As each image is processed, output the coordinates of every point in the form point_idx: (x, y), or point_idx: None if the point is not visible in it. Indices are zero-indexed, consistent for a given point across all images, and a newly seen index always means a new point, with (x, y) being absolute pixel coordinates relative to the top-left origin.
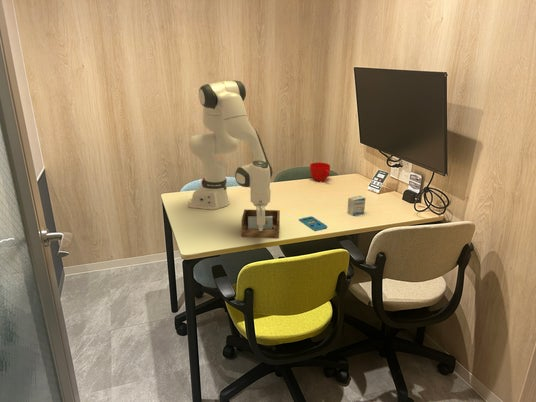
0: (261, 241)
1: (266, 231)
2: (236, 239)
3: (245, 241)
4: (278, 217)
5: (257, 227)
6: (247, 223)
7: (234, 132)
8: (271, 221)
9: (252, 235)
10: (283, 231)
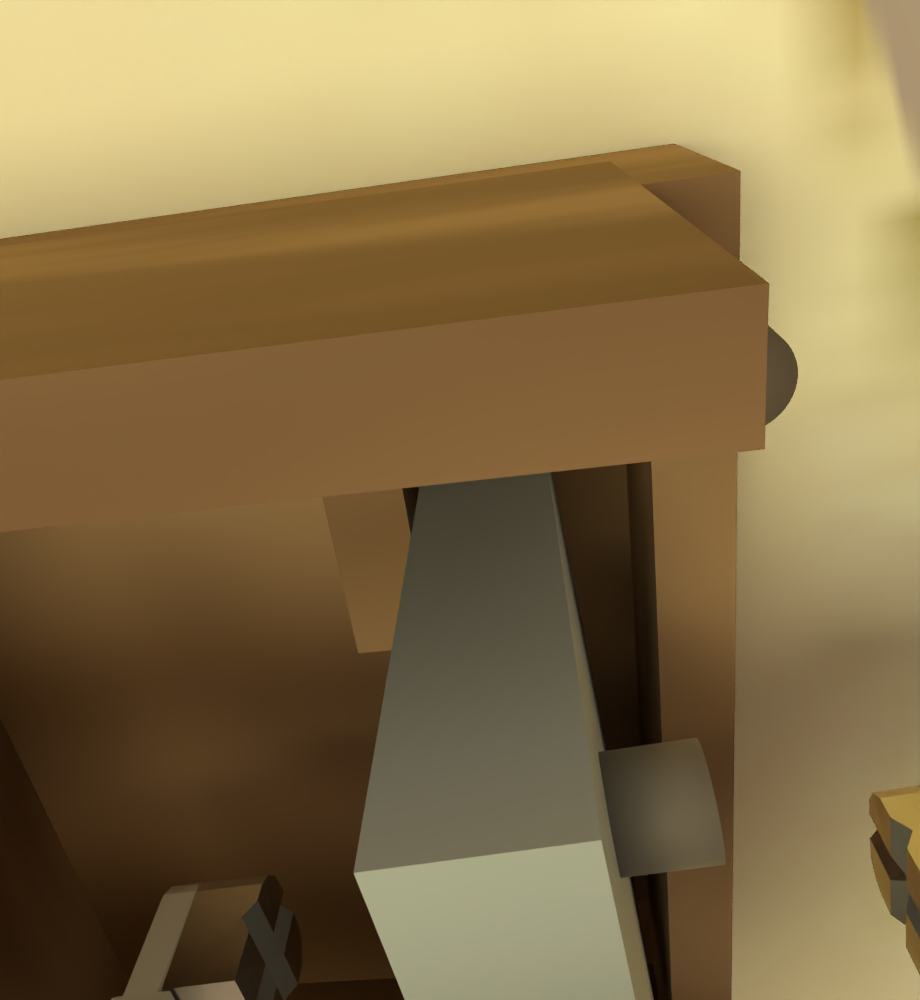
0: (914, 582)
1: (725, 607)
2: (806, 995)
3: None
4: (141, 429)
5: (631, 897)
6: (124, 983)
7: None
8: (581, 691)
9: None
10: (148, 58)
